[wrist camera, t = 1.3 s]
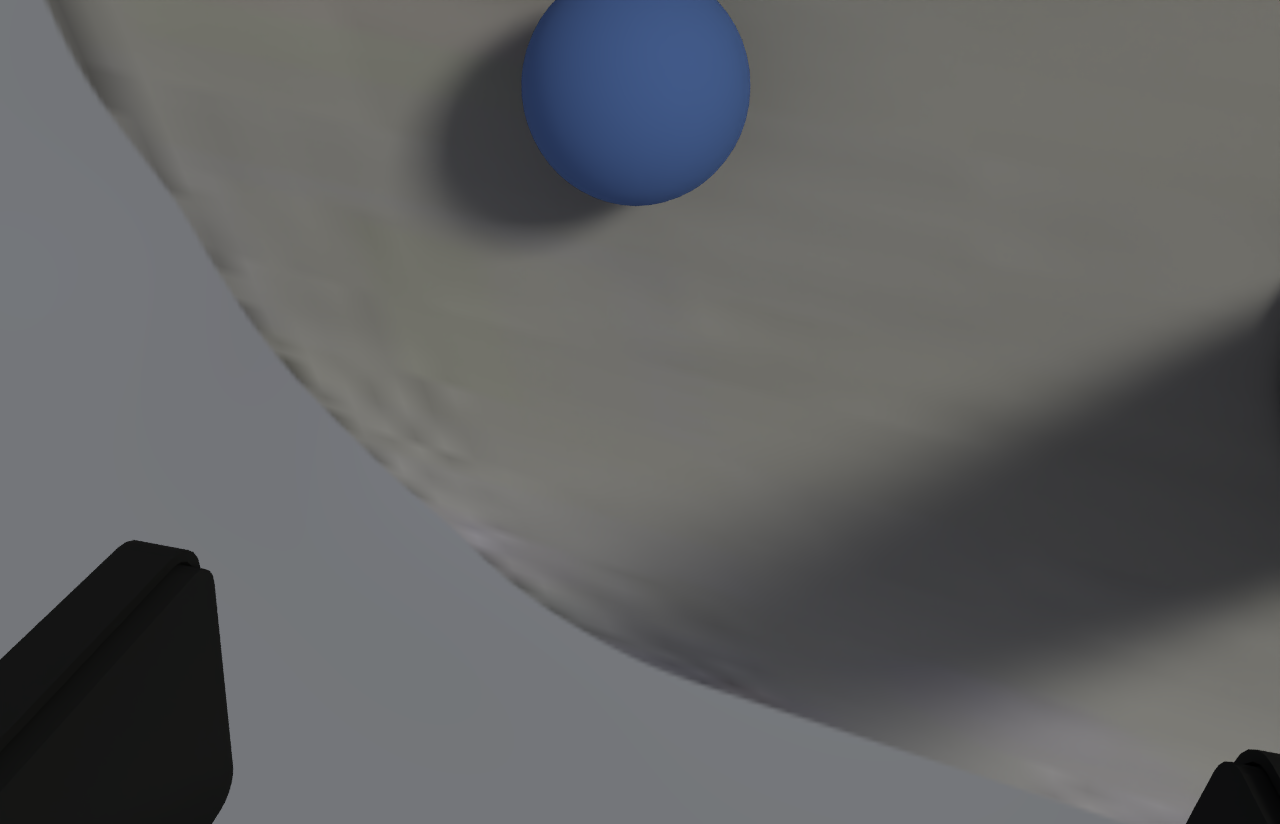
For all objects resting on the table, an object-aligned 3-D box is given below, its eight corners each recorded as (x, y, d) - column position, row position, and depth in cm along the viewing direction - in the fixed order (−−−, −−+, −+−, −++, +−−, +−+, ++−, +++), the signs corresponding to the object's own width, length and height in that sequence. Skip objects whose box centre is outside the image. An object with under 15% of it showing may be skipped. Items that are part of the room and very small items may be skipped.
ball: (779, 147, 29) (767, 199, 24) (589, 197, 31) (540, 257, 26) (727, -70, 27) (702, -65, 22) (525, -3, 29) (456, 17, 24)
